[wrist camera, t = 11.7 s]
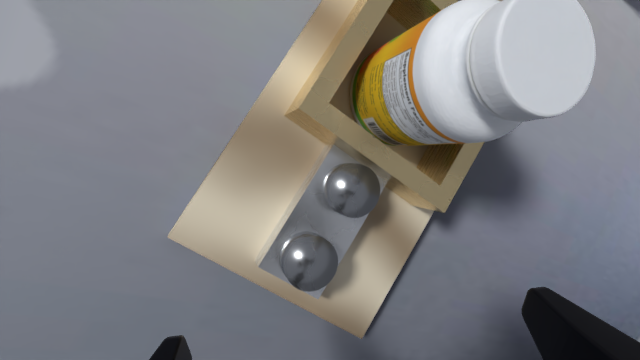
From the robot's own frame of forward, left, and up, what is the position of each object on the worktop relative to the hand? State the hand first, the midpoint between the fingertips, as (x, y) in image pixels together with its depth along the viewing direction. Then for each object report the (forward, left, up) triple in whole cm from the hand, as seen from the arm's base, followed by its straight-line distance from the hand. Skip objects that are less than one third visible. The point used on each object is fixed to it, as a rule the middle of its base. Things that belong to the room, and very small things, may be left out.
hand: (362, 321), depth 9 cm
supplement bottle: (+10, -1, -10) cm, 14 cm away
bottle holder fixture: (+10, -1, -11) cm, 15 cm away
